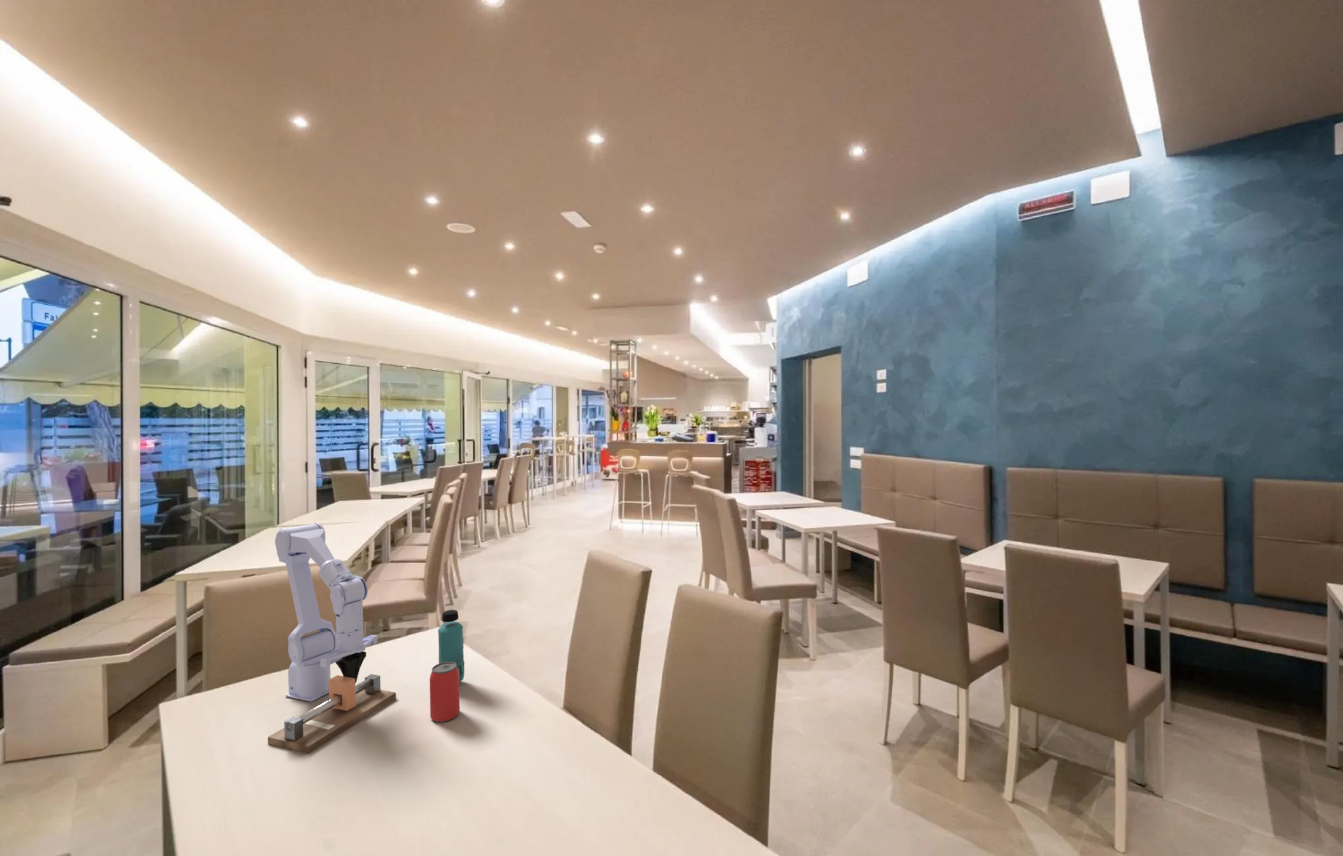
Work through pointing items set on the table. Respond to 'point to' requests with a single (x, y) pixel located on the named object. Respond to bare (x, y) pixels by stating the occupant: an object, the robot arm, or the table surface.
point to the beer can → (444, 692)
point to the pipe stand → (327, 708)
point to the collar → (343, 691)
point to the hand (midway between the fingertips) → (351, 683)
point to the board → (333, 722)
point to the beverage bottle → (451, 641)
